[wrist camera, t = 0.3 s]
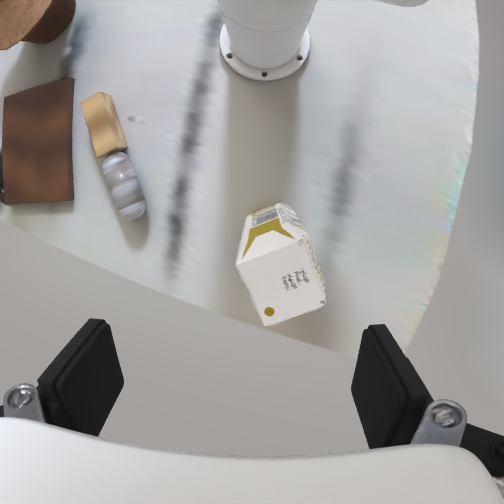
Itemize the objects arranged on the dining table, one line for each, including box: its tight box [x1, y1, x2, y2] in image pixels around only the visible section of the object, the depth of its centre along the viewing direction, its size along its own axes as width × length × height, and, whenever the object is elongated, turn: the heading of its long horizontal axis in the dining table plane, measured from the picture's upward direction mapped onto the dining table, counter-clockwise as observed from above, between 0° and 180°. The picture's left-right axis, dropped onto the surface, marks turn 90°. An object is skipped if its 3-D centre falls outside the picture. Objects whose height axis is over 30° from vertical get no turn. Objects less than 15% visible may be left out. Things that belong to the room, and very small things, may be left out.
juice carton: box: [235, 203, 327, 327], centre depth 37 cm, size 8×9×19 cm
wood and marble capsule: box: [81, 92, 146, 220], centre depth 41 cm, size 20×4×4 cm, turn 19°
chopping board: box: [2, 78, 74, 205], centre depth 41 cm, size 20×16×2 cm
